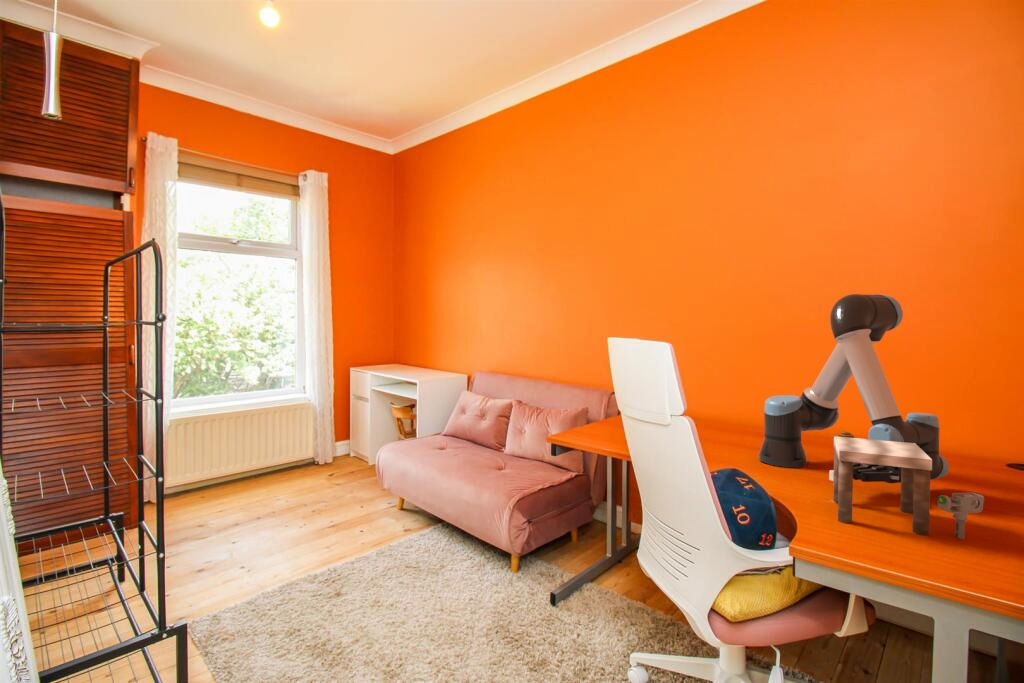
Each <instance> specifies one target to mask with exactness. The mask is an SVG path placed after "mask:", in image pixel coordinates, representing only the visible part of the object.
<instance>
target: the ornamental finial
mask: <svg viewBox="0 0 1024 683" xmlns="http://www.w3.org/2000/svg"><path fill="white" fill-rule="evenodd" d="M836 437H848V438H856V437H855V435H854V434H853V433H851V432H850V431H845V430H843V431H842V432H840V433H839V434H837V435H836ZM834 448H835V447H834V446H833V449H834Z"/></svg>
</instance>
